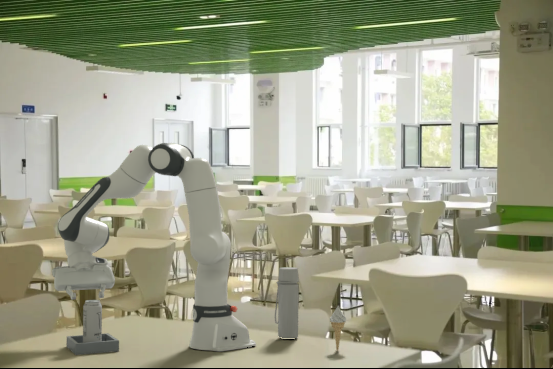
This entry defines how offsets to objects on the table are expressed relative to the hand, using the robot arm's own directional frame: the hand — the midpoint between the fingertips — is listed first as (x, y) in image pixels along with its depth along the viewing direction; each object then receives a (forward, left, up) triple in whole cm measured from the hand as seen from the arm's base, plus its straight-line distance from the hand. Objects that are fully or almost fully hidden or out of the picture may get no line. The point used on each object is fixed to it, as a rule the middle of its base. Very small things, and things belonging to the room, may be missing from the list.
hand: (87, 297), depth 269 cm
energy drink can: (0, +6, -15) cm, 17 cm away
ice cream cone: (-73, +42, -16) cm, 86 cm away
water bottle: (-67, +16, -16) cm, 71 cm away
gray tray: (0, +7, -16) cm, 17 cm away
